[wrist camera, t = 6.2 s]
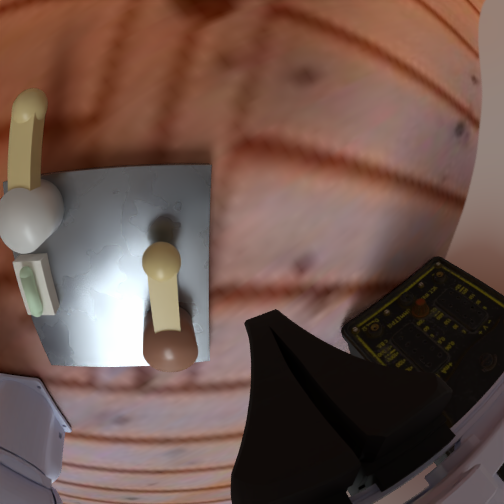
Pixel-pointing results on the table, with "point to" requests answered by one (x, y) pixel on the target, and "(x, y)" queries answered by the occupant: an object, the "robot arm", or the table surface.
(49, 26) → the table surface
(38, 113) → the footscrew grey
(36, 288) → the bubble vial
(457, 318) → the voltmeter
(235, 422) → the table surface
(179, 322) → the beige knobbed bar
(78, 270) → the levelling plate
